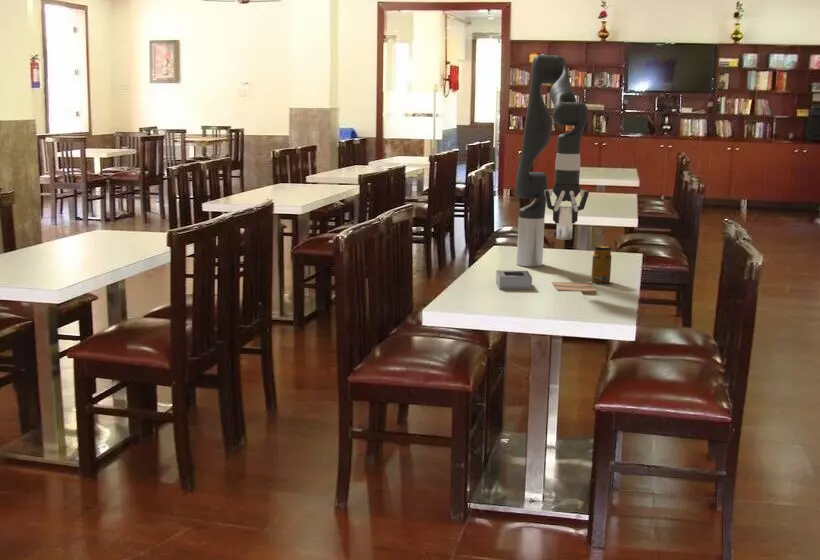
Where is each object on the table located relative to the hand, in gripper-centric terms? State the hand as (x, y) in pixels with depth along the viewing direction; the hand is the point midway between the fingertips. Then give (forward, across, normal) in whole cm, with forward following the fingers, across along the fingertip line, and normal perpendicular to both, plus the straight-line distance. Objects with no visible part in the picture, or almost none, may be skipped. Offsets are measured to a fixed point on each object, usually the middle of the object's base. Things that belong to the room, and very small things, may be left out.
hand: (564, 222), depth 287 cm
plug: (+5, 0, 0) cm, 5 cm away
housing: (+21, +15, 0) cm, 26 cm away
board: (+21, -4, 0) cm, 22 cm away
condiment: (+22, -16, -12) cm, 29 cm away
